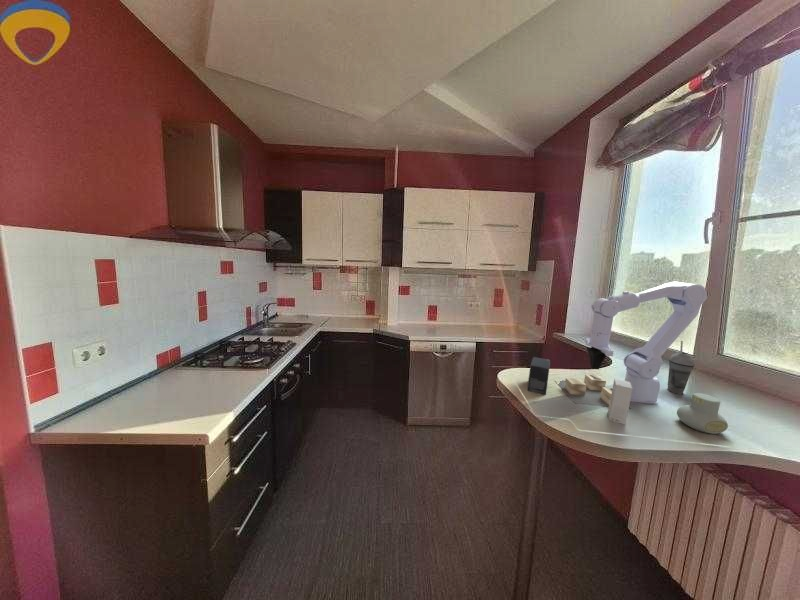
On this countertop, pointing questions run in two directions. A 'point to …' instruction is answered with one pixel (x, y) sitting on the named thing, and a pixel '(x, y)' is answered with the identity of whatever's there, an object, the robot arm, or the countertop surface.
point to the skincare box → (620, 401)
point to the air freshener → (703, 414)
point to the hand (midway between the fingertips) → (594, 368)
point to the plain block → (575, 386)
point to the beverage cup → (679, 371)
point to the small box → (538, 375)
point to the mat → (585, 396)
